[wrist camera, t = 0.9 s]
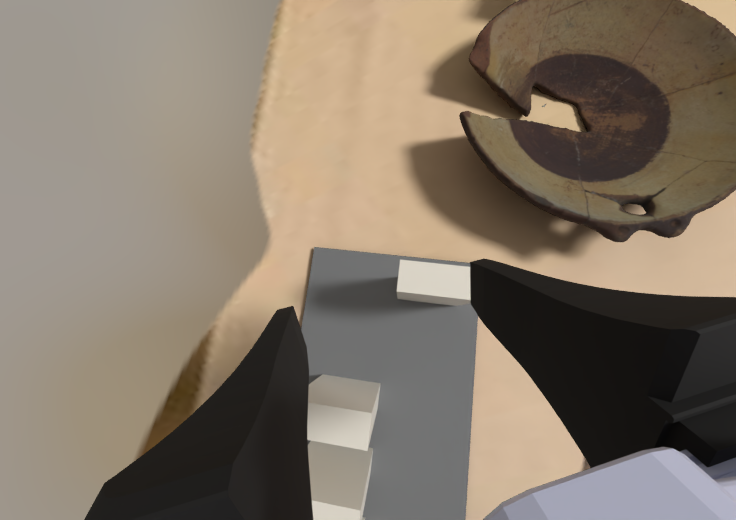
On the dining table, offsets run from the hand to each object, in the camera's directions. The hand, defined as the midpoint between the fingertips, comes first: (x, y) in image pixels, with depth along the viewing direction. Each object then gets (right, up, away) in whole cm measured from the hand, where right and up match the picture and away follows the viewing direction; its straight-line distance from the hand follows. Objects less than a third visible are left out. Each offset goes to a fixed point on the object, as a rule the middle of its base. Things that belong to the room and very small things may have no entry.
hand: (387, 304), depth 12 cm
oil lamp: (+20, +17, +17) cm, 31 cm away
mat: (0, -12, +13) cm, 18 cm away
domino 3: (+4, -1, +14) cm, 15 cm away
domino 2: (-3, -14, +12) cm, 19 cm away
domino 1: (-2, -9, +13) cm, 16 cm away
